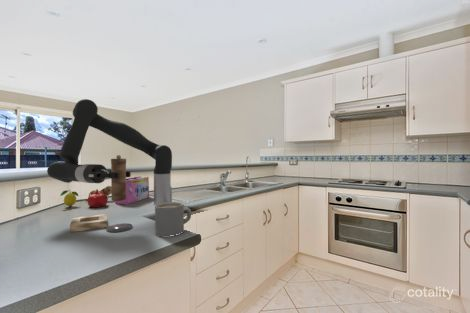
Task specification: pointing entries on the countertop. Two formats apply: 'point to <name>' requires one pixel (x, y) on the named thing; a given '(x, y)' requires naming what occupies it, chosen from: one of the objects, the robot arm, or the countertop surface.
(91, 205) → the pomegranate
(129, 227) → the coaster
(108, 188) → the lion figurine
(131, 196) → the gum box
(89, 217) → the holder
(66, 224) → the countertop surface
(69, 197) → the lemon
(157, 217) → the coffee mug
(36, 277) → the countertop surface
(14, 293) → the countertop surface
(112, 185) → the pepper mill
